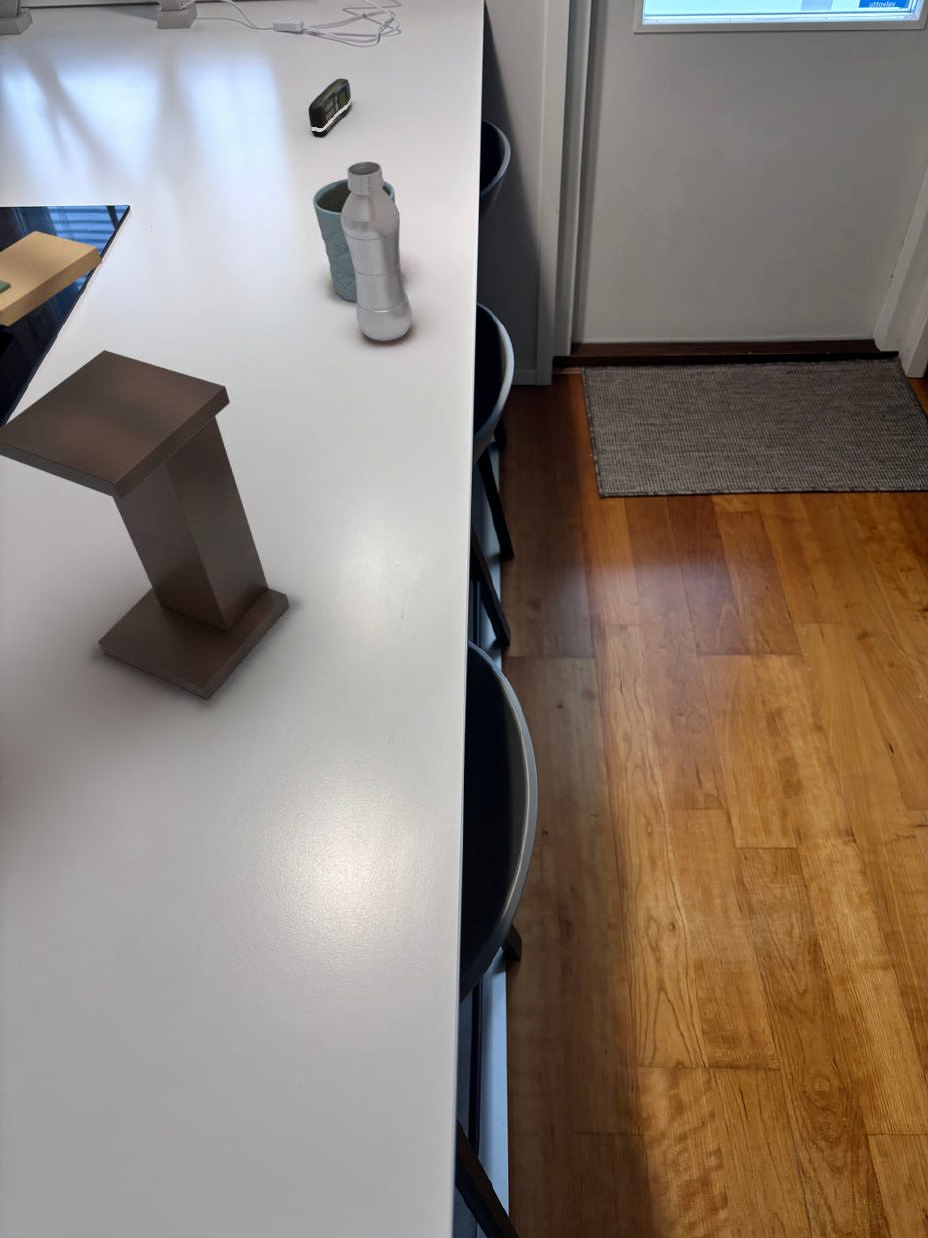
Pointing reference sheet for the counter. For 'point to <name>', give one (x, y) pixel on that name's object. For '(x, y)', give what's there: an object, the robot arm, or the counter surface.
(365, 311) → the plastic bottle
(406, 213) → the counter surface
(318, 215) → the blue-grey embossed cup
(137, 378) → the brown pedestal stand
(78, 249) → the spatula
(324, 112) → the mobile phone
